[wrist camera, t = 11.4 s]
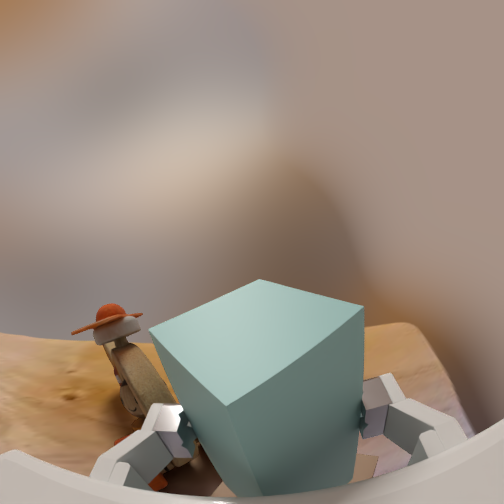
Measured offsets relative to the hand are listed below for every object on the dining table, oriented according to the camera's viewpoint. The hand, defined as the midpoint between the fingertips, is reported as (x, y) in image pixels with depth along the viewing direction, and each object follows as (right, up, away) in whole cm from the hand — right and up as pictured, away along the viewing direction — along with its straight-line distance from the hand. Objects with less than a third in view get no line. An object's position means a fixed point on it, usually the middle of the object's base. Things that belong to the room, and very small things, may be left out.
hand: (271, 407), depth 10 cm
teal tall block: (+1, -5, +1) cm, 6 cm away
